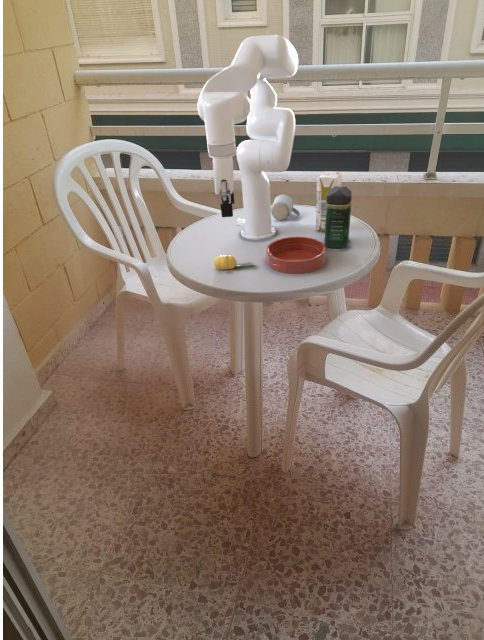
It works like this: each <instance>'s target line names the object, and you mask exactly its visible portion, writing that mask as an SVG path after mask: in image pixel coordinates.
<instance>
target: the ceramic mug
mask: <svg viewBox="0 0 484 640" xmlns="http://www.w3.org/2000/svg"><path fill="white" fill-rule="evenodd" d="M271 205H272V206H271V216H272V217H273V218H274V219H275V220H277V221H284V220H286V219H287V218H290V219H293V220H297V219H299V218H300V216H301V213H300V211H299V210H298V208H297V209H296V207H294V201H293V199H292V198H291V197H290V196H289V195H287V194H279V195H277V196H276V197H275V198H274V200H273V203H272V204H271ZM292 212H293V213H294V214H293V213H292Z"/></svg>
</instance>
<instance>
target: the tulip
mask: <svg viewBox="0 0 484 640" xmlns="http://www.w3.org/2000/svg"><path fill="white" fill-rule="evenodd" d="M213 265H214V267H215V268H216V269H217V270H220V271H225V270H234V269H238V268H240V269H241V268H254V267H256V265H255V264H239V265H237V259H236V257H235V256H234V255H231V254H226V255H225V254H224V255H218V256H216V257H215V258H214V260H213Z"/></svg>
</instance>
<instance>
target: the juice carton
mask: <svg viewBox="0 0 484 640" xmlns="http://www.w3.org/2000/svg"><path fill="white" fill-rule="evenodd" d="M342 177H343V176H342V172H341V171H323V172H322V173H321V174H320V175H319V176H318V177H317V181H316V202H315V203H316V207H315V209H316V210H315V224H316V225H315V226H316V230H317V231H320V232H325V220H326V198H327V197H326V196H327V193H328V191H329V190H330V189H332V188H334V187H335V186H339V187H343V178H342Z"/></svg>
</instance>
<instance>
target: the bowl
mask: <svg viewBox="0 0 484 640" xmlns="http://www.w3.org/2000/svg"><path fill="white" fill-rule="evenodd" d="M265 252H266V264H267V265H268V267H269V268H271V269H272V270H274V271H276V272H278V273H283V274H290V275H291V274H292V275H297V274H298V275H299V274H300V275H301V274H307V273H312V272H314V271H317V270H319V269H320V268H323V266H324V265H325V264H326V259H327V247H326V246H325V244H324V242H322V241H321V240H319V239H317V238H314V237H308V236H300V235H299V236H297V235H296V236H287V237H281V238H278V239H276V240H274V241H272V242H270V243H269V244H268V245H267V246H266V251H265Z"/></svg>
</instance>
